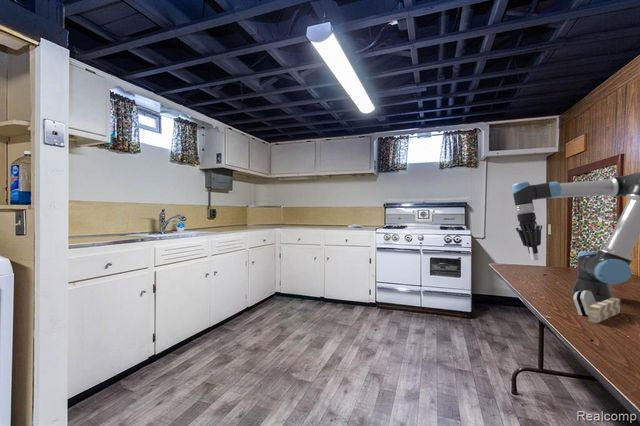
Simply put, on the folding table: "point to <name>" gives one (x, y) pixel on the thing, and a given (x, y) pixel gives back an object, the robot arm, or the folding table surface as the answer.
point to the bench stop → (603, 310)
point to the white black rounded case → (583, 301)
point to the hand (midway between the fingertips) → (534, 260)
